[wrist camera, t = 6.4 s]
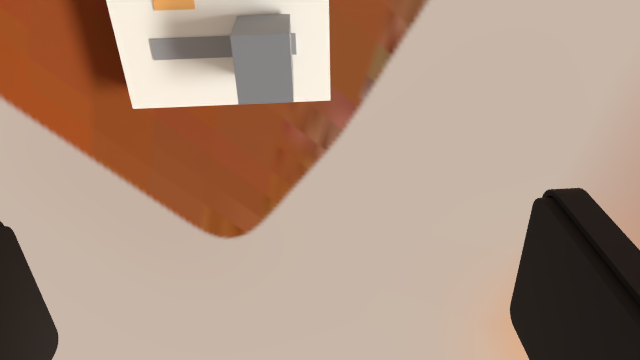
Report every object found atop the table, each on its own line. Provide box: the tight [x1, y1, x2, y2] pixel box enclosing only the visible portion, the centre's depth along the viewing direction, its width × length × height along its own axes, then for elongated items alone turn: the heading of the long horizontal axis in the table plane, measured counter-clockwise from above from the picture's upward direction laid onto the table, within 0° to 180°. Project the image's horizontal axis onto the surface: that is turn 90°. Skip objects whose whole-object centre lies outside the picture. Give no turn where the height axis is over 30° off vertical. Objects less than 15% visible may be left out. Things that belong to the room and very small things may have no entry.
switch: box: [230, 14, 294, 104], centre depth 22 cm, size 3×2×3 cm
